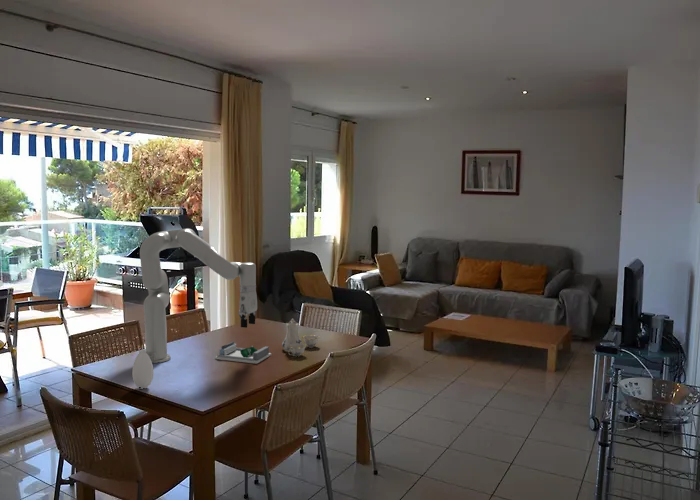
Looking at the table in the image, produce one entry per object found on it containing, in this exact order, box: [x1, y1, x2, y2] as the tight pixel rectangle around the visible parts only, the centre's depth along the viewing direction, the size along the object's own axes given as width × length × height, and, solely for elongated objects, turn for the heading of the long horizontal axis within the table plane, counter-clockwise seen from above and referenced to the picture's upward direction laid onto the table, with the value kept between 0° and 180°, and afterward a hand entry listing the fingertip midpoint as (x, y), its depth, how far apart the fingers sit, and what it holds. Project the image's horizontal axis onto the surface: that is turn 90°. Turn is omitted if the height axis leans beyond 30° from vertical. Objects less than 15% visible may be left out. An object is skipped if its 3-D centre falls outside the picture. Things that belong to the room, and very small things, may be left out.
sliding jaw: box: [218, 340, 237, 355], centre depth 272 cm, size 12×2×4 cm, turn 162°
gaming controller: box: [240, 345, 259, 358], centre depth 268 cm, size 9×4×6 cm
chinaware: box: [281, 318, 320, 357], centre depth 282 cm, size 28×17×17 cm, turn 167°
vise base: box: [214, 345, 272, 365], centre depth 269 cm, size 15×22×4 cm
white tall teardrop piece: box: [131, 343, 155, 389], centre depth 223 cm, size 8×8×18 cm
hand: (248, 325), depth 267 cm, fingers open, 7 cm apart
